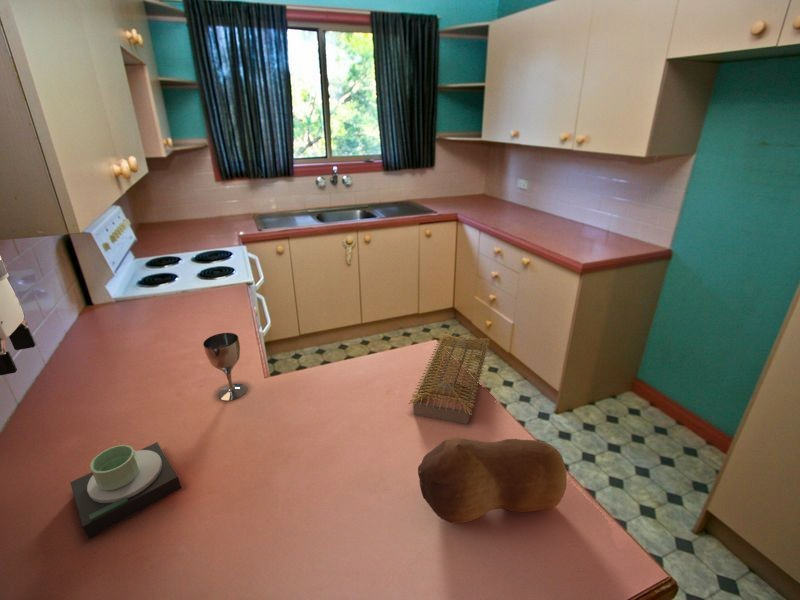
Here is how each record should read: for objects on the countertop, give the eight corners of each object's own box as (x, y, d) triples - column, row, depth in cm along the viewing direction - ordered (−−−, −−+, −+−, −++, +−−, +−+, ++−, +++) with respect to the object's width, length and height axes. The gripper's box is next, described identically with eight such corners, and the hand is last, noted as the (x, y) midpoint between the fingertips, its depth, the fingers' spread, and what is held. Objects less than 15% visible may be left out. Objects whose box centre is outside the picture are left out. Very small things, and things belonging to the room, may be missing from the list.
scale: (88, 539, 71) (81, 523, 70) (75, 493, 80) (68, 478, 79) (181, 488, 81) (177, 473, 79) (161, 452, 89) (156, 438, 88)
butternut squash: (424, 543, 66) (581, 530, 68) (421, 459, 65) (580, 448, 67) (416, 496, 80) (545, 487, 81) (413, 426, 79) (544, 418, 80)
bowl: (94, 497, 75) (86, 477, 73) (101, 470, 80) (94, 451, 78) (138, 484, 77) (131, 465, 75) (142, 458, 83) (136, 440, 81)
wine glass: (210, 392, 109) (197, 340, 103) (240, 379, 114) (229, 329, 108) (223, 405, 103) (211, 352, 97) (254, 391, 108) (244, 340, 102)
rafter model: (471, 427, 94) (472, 404, 91) (408, 415, 98) (408, 393, 96) (489, 349, 124) (491, 330, 122) (441, 342, 128) (441, 324, 126)
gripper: (-29, 261, 77) (9, 343, 84) (-82, 295, 63) (-32, 391, 70) (22, 255, 80) (54, 335, 87) (-18, 286, 65) (24, 379, 72)
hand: (16, 360), depth 78 cm, fingers open, 9 cm apart
